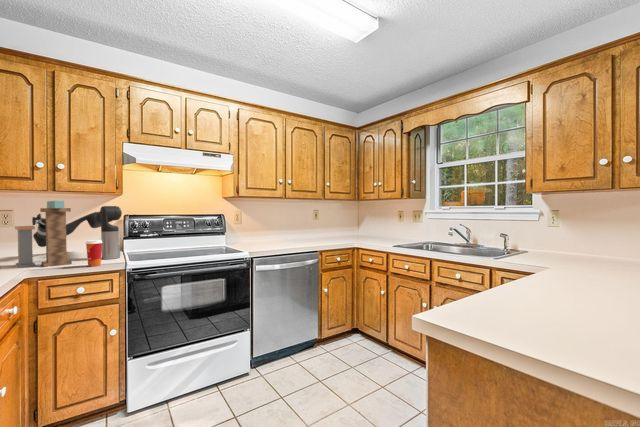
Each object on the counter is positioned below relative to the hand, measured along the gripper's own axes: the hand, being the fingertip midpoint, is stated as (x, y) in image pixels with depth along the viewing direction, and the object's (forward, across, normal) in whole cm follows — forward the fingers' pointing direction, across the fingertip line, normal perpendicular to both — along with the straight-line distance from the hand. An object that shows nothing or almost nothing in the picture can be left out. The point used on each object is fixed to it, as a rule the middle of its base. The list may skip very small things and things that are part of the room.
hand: (49, 214), depth 191 cm
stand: (+4, 0, +34) cm, 35 cm away
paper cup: (+22, +13, +45) cm, 52 cm away
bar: (+19, 0, +6) cm, 20 cm away
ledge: (-5, -12, +29) cm, 32 cm away
